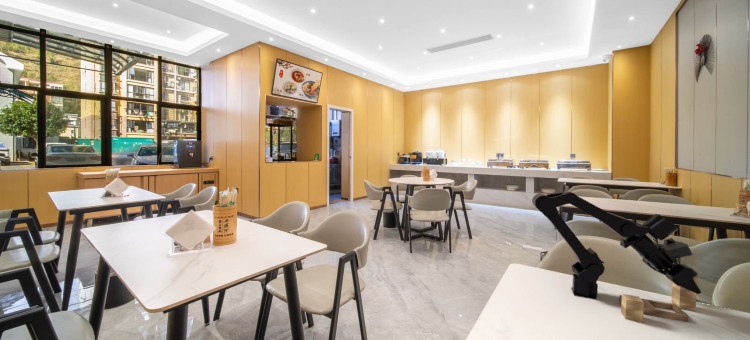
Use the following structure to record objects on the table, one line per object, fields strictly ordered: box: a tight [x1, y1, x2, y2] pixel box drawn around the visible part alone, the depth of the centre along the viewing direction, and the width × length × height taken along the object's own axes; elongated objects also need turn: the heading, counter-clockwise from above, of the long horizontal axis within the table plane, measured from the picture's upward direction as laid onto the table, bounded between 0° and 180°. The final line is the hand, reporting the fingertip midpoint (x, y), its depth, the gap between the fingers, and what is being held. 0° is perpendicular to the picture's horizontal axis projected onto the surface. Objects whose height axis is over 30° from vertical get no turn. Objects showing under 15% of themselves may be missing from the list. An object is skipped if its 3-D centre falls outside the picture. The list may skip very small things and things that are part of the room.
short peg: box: [620, 293, 644, 323], centre depth 89 cm, size 4×4×6 cm
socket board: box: [619, 294, 689, 322], centre depth 93 cm, size 14×8×2 cm, turn 64°
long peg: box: [670, 272, 699, 312], centre depth 94 cm, size 4×4×12 cm
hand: (689, 286), depth 94 cm, fingers open, 9 cm apart
